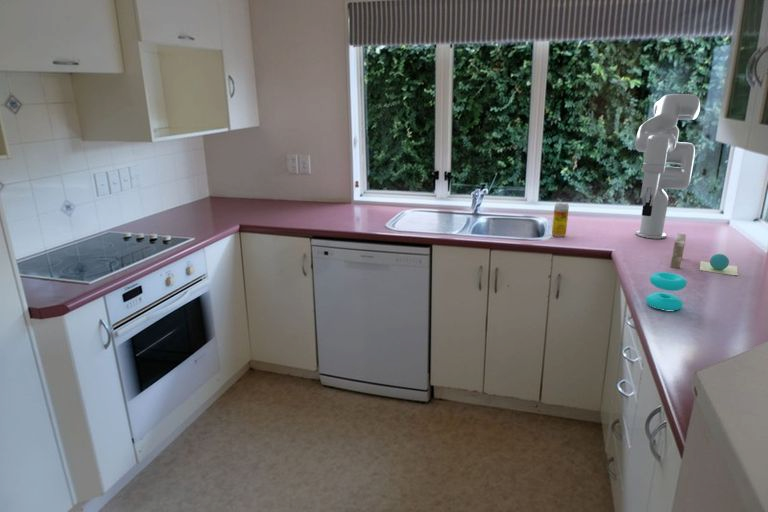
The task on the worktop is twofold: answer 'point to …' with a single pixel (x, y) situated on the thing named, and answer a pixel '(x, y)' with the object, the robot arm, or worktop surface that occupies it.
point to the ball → (719, 261)
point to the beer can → (560, 219)
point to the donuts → (666, 283)
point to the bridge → (678, 250)
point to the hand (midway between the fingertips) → (646, 215)
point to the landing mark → (728, 270)
